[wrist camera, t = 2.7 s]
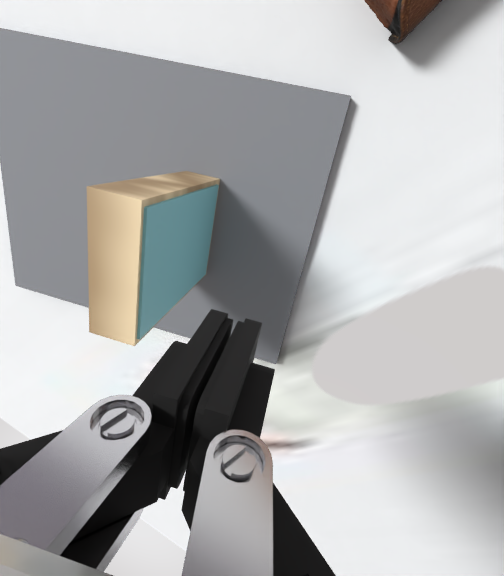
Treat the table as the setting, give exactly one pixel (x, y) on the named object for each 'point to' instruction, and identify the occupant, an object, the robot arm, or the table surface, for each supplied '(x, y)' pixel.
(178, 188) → the maple tile
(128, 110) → the rubber mat
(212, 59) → the table surface
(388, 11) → the sunglasses case
